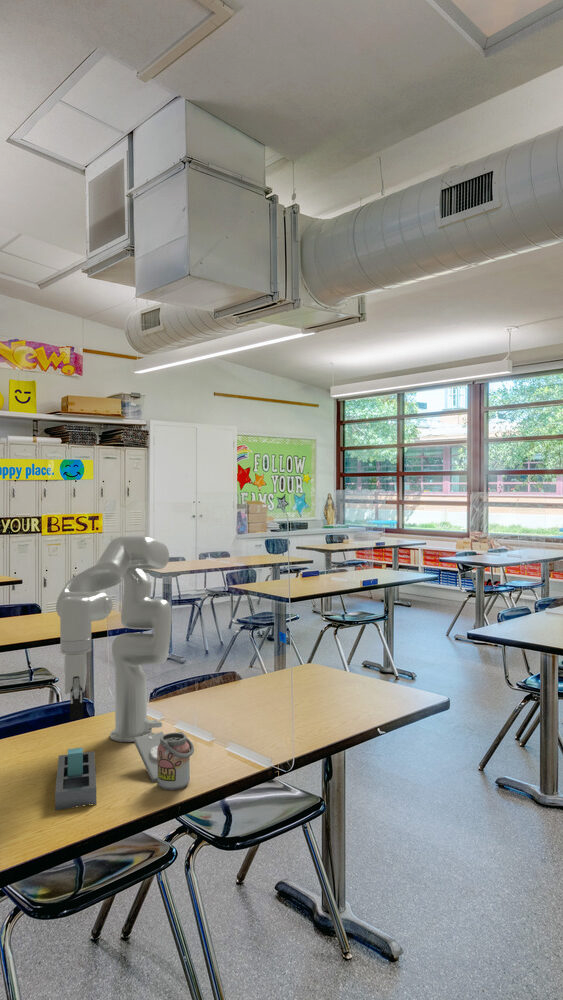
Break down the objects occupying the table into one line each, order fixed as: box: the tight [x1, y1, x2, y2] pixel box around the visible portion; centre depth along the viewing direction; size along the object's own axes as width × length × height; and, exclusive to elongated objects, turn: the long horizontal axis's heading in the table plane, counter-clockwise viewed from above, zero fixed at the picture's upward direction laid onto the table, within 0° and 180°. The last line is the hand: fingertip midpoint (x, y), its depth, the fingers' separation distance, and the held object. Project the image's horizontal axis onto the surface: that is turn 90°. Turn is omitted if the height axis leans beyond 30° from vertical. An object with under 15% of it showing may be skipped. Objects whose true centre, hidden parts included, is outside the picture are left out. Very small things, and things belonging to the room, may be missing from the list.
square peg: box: [67, 747, 84, 776], centre depth 159 cm, size 4×4×9 cm
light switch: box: [134, 731, 165, 783], centre depth 169 cm, size 8×6×14 cm
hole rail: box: [54, 751, 97, 811], centre depth 159 cm, size 9×24×4 cm, turn 18°
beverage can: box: [156, 731, 195, 791], centre depth 159 cm, size 9×8×12 cm
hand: (76, 712), depth 159 cm, fingers open, 9 cm apart
